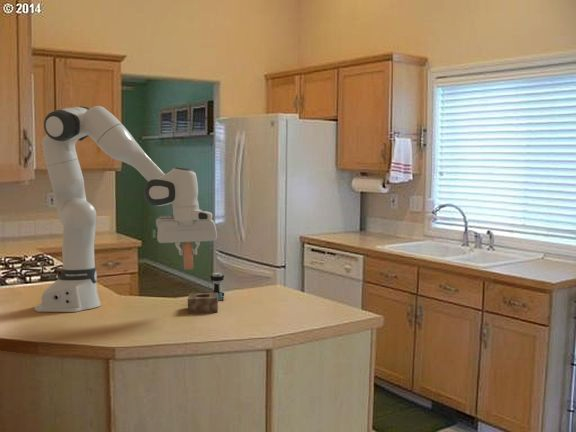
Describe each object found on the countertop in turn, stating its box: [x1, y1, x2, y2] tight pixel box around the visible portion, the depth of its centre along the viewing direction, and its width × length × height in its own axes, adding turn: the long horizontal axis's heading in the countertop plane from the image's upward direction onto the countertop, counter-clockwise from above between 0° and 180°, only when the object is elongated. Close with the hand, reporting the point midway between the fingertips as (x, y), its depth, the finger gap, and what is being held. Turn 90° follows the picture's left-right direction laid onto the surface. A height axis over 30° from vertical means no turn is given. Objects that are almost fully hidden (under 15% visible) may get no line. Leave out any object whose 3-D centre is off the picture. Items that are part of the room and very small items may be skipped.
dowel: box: [182, 242, 194, 271], centre depth 215 cm, size 3×3×9 cm
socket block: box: [187, 292, 219, 314], centre depth 219 cm, size 10×10×5 cm
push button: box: [209, 272, 227, 301], centre depth 236 cm, size 7×5×10 cm
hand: (188, 254), depth 215 cm, fingers closed on dowel, 3 cm apart
